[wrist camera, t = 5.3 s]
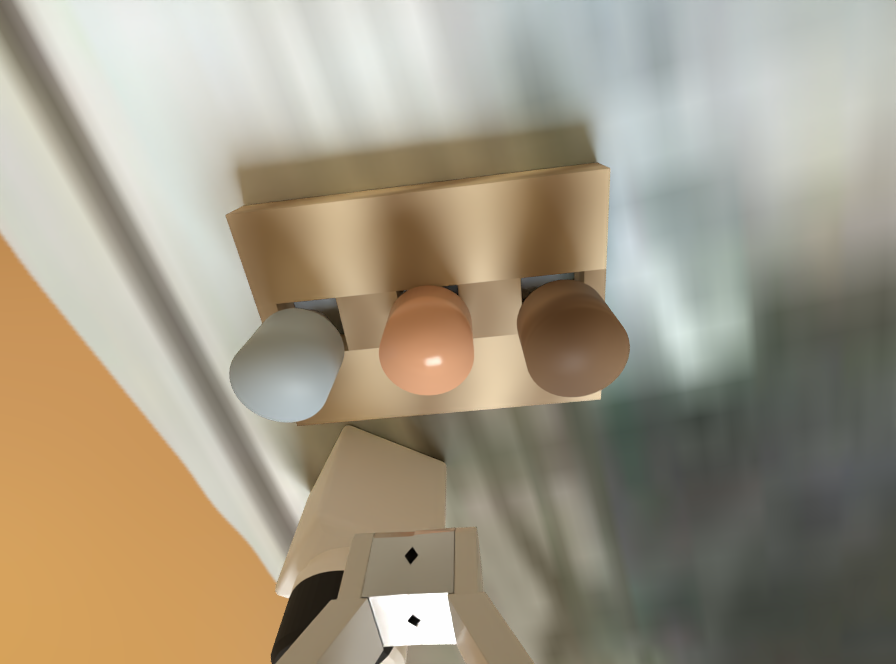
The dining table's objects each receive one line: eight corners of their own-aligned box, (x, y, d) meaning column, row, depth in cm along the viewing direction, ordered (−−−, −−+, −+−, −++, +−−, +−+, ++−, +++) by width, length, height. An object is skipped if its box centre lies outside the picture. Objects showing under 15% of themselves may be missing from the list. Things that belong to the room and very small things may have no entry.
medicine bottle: (308, 494, 31) (232, 701, 21) (346, 420, 28) (279, 617, 18) (403, 528, 33) (378, 737, 22) (448, 461, 30) (444, 666, 19)
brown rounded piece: (595, 259, 21) (632, 303, 17) (593, 335, 23) (626, 392, 19) (509, 269, 21) (523, 314, 17) (513, 343, 23) (527, 401, 19)
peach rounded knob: (466, 266, 22) (469, 308, 18) (474, 337, 24) (478, 391, 20) (387, 275, 23) (370, 318, 18) (400, 344, 25) (388, 399, 20)
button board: (597, 162, 21) (610, 168, 19) (590, 378, 27) (600, 399, 25) (243, 205, 22) (225, 215, 20) (307, 404, 28) (297, 425, 26)
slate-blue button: (343, 287, 22) (314, 335, 17) (360, 358, 24) (338, 418, 19) (263, 295, 22) (215, 345, 18) (286, 365, 24) (247, 426, 20)
